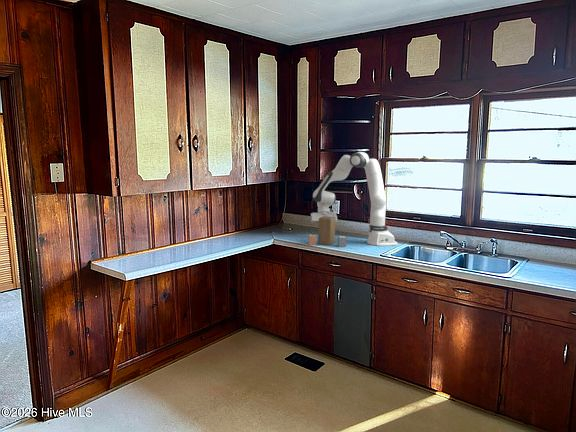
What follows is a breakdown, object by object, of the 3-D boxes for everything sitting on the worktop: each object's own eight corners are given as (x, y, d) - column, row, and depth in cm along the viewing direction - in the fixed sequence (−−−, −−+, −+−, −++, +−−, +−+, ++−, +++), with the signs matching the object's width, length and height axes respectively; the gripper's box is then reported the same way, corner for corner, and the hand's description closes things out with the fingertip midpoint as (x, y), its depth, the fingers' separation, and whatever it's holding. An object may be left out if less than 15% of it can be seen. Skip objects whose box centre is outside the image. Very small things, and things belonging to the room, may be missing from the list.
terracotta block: (315, 243, 316) (315, 233, 314) (316, 245, 311) (316, 235, 309) (308, 243, 315) (308, 233, 314) (309, 245, 310) (309, 235, 309)
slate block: (344, 245, 311) (345, 235, 310) (346, 247, 306) (346, 237, 305) (337, 245, 311) (338, 235, 309) (339, 247, 306) (339, 237, 304)
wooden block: (317, 244, 315) (318, 217, 311) (323, 241, 323) (323, 215, 320) (330, 245, 310) (330, 218, 307) (335, 242, 319) (336, 216, 315)
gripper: (310, 210, 329) (312, 224, 321) (336, 210, 330) (338, 224, 322) (310, 214, 334) (311, 229, 326) (335, 214, 336) (337, 229, 328)
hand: (325, 227), depth 324 cm, fingers closed
